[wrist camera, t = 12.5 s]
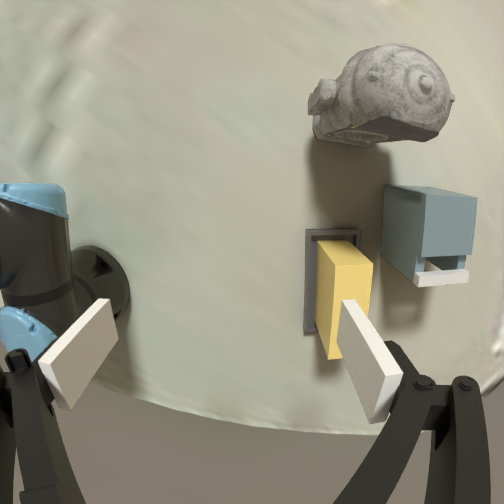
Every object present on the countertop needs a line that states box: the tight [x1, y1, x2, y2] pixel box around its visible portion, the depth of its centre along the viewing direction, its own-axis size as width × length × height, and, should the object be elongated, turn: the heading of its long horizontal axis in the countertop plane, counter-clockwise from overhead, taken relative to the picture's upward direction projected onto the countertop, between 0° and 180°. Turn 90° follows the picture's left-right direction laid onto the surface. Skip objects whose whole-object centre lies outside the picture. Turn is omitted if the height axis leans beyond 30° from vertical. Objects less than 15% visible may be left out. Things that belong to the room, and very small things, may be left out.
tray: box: [303, 228, 360, 332], centre depth 49 cm, size 9×18×2 cm, turn 2°
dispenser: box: [380, 185, 477, 287], centre depth 39 cm, size 9×12×14 cm
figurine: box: [308, 43, 455, 147], centre depth 30 cm, size 10×14×25 cm
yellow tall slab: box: [314, 240, 373, 360], centre depth 43 cm, size 5×14×12 cm, turn 2°
